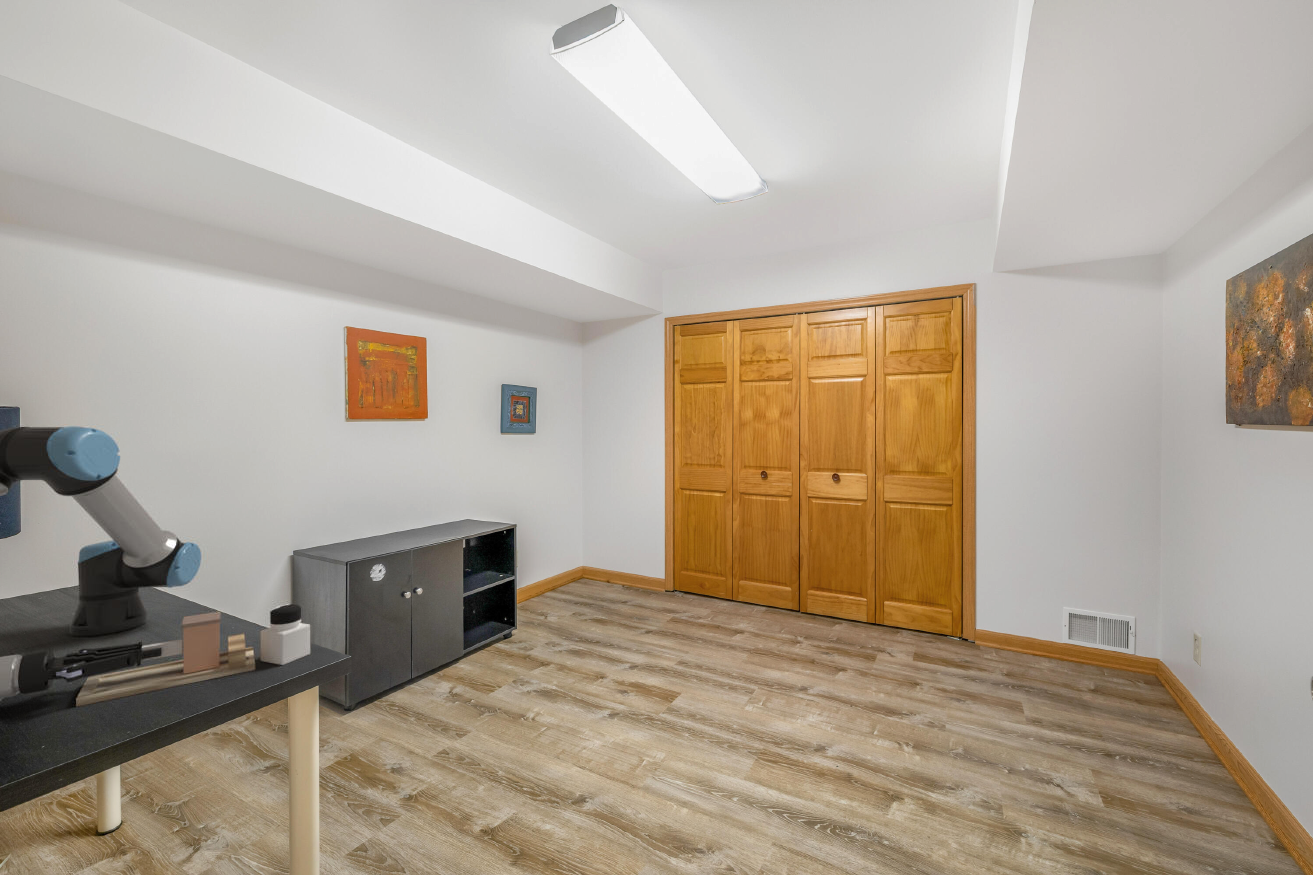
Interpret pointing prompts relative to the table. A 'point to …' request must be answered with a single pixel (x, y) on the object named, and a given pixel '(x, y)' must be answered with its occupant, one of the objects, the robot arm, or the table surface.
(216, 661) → the pink box with lid
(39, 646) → the table surface
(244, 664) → the rail track
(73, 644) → the table surface
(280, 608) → the medicine bottle
